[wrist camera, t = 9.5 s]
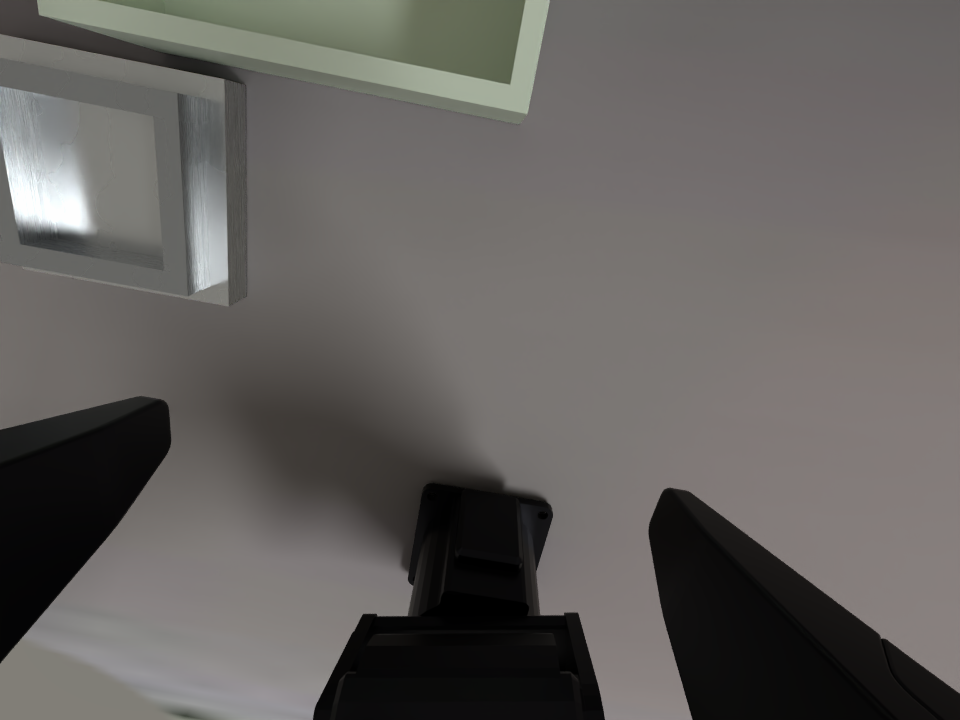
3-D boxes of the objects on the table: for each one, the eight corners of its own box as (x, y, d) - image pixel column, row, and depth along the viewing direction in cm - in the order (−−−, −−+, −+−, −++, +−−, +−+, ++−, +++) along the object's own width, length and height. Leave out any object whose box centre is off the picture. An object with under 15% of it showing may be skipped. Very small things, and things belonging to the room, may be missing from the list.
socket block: (246, 296, 21) (208, 318, 18) (54, 261, 20) (-15, 278, 18) (245, 85, 18) (198, 71, 15) (19, 39, 17) (-71, 17, 15)
